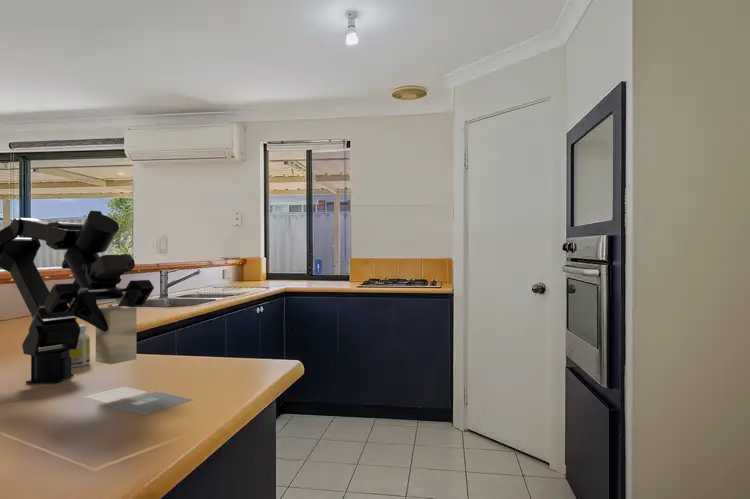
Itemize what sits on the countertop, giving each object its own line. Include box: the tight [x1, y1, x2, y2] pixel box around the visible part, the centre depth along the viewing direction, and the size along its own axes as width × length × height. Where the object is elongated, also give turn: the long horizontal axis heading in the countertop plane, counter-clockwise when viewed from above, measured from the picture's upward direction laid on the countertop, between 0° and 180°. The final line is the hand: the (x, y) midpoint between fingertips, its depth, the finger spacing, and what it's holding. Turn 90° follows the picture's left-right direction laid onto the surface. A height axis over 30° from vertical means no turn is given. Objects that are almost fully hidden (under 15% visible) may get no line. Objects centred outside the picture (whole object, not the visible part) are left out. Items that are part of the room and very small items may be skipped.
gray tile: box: [104, 391, 194, 416], centre depth 85 cm, size 11×10×1 cm
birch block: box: [95, 305, 138, 365], centre depth 91 cm, size 5×5×10 cm
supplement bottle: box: [69, 324, 91, 368], centre depth 118 cm, size 5×5×10 cm
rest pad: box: [83, 386, 149, 404], centre depth 91 cm, size 8×8×1 cm
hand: (120, 328), depth 90 cm, fingers closed on birch block, 5 cm apart
